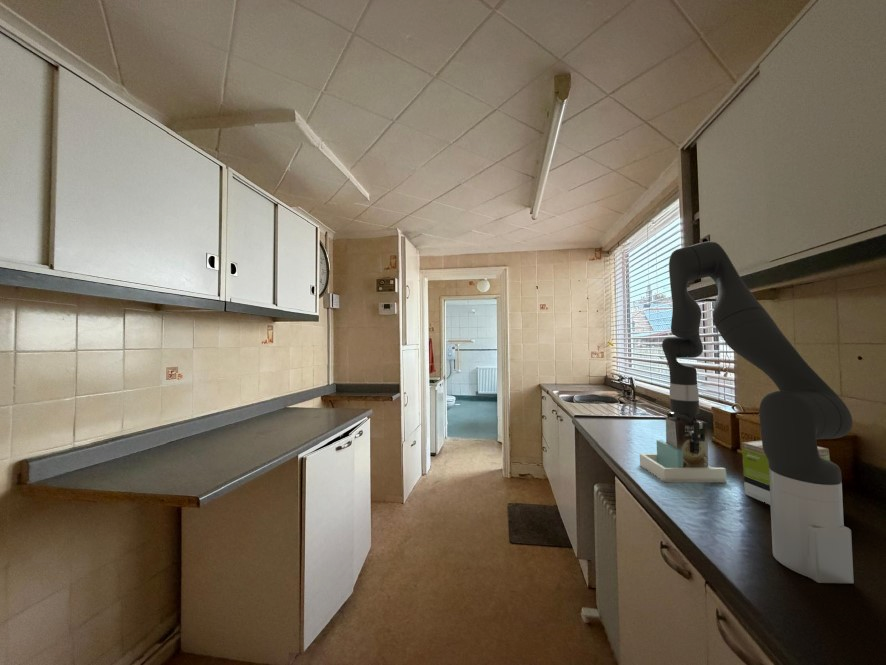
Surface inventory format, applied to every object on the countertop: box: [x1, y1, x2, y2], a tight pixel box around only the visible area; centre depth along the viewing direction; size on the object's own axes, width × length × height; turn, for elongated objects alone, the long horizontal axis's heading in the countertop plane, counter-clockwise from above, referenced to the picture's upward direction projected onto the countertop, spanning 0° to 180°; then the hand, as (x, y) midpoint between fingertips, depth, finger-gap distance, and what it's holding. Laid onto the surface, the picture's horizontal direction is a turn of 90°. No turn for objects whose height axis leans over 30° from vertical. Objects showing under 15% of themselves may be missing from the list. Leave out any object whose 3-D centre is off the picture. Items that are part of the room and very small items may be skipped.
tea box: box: [741, 439, 831, 506], centre depth 85 cm, size 15×10×15 cm
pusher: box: [656, 439, 683, 468], centre depth 103 cm, size 10×2×8 cm, turn 177°
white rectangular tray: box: [639, 453, 727, 483], centre depth 102 cm, size 13×18×4 cm
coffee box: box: [665, 417, 709, 468], centre depth 102 cm, size 9×6×16 cm
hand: (685, 449), depth 102 cm, fingers open, 7 cm apart
